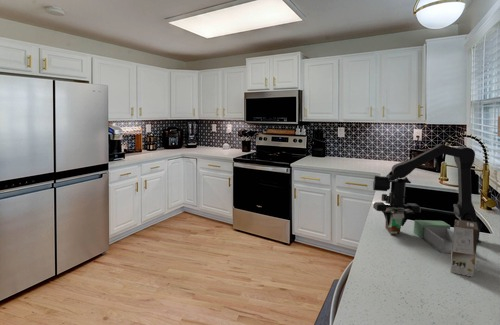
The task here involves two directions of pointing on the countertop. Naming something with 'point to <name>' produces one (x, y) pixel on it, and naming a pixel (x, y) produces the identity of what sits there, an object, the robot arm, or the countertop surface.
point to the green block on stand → (435, 234)
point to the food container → (395, 221)
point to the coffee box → (464, 247)
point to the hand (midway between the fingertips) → (395, 225)
